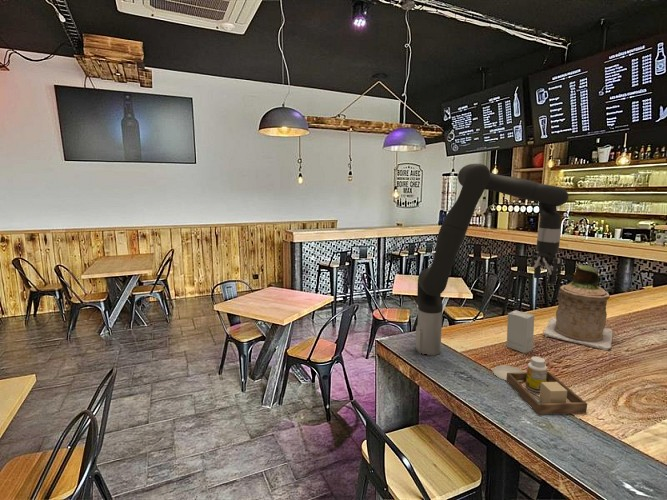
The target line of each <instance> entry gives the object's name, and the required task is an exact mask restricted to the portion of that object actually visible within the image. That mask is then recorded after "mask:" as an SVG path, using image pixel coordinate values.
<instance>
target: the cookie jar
mask: <svg viewBox="0 0 667 500" xmlns="http://www.w3.org/2000/svg"><path fill="white" fill-rule="evenodd" d="M575 266H576V269H575V272H573V280H572V281H570V282H569V283H568V284H564V285H561V286H560V287H559V293H558V298H557V302H558V305H557V309H556V313H555V317H554V316H552V317H550V319H549V320H548V322H547V325H546V327H545V328H544V330H543V331H542V333H543V334H544V337H545V338H546V337H547V338H548V337H549V338H554V339H558V340H562V341H566V342H571V343H575V344H580V345H583V346H587V347H592V348H594V349H595V348H596V349H599V350H603V351H605V352H606V351H608V350H609V349H611V348H612V343H613V342H612V341H613V337H614V336H613V335H614V334H613V330H612V329H611V328H608V327H606V326H607V325H606V324H607V315H608V314H607V302H608V300H609V299H610V298H611V297H610V294H609V292H608V291H606V290H605V289H604V288H603V287H600V286H598V283H599V281H600V280H599V279H600V275H599V272H598V271H597V270H596V268H595V267H594V266H591V265H585V264H584V265H580V264H579V263H576V264H575Z"/></svg>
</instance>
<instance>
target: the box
mask: <svg viewBox="0 0 667 500" xmlns="http://www.w3.org/2000/svg"><path fill="white" fill-rule="evenodd" d="M538 398H539V399H538V400H539V402H540V403H567V390H566V389H565V388H564V387H562V386H561V385H560V384H559V383H558V382H548V381H546V382H541V388H540V392H539V397H538Z"/></svg>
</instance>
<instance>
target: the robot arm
mask: <svg viewBox="0 0 667 500" xmlns="http://www.w3.org/2000/svg"><path fill="white" fill-rule="evenodd" d="M457 181H458V183H459V184H460V186H461V190H460V192H459V195H458V197H457V199H456V201H455V203H453V205H452V206H451V208H450V209H449V210H448V213H447V214H446V215H445V217H444V219H443V221H442V223H441V226H440V228H439V231H438V234H437V236H436V245H435V253H434V258H433V260H432V263H431V265H430V268H429V267H427V268H424V269H423V270H421V272H419V274H418V278H417V294H416V295H417V296H416V297H417V305H418V308H417V309H418V310H417V311H418V312H417V313H418V314H417V325H415V345H414V347H415V349H416V351H417V353H418V354H419V355H424V354H427V355H426V356H437V355H440V353H441V350H442V349H441V348H442V329H443V311H444V310H443V308H444V305H443V301H442V297H441V296H442V295H441V294H442V293H444V292H445V289H446V288H447V285H448V281H449V278H450V274H451V272H452V271H451V270H452V267H453V264H454V263H455V259H456V257H457V255H458V253H459V250H460V247H461V245H462V243H463V240H464V239H465V236H466V234H467V231H468V229H469V226H470V223H471V222H472V218H473V216H474V214H475V210H476V207H477V205H478V203H479V202H480V199H481V197H482V195H483V193H484V191H485V190H487V191H491V192H496V193H500V194H504V195H507V196H512V197H514V198H519V199H523V200H526V201H531V202H532V201H533V202H538V209H539V216H540V217H539V228H538V232H537V240H536V248H535V251H533V252H532V253H531V254H532V255H531V259H530V266H531V267H533V269H534V270H533V278H535V279H540V278H541V272H542V267H543V266H544V267H545V269H546V270H547V271H548V280H547V283H548V284H549V285H555V283H556V277H557V275H561V274H562V266H563V265H562V264H563V263H562V262H563V259H562V257H557V256H556V254H558V253H559V250H560V243H561V226H562V214H561V213H560V212H558V208H557V207H560V206H563V205H565V204H566V203H567V201H568V200H569V193H568V191H567V190H566V189H565V188H564V187H561V186H556V185H552V184H545V183H541V182H536V181H533V180H530V179H525V178H520V177H516V176H507V175H502V174H501V175H500V174H497V173H493V172H491V171H490V169H489V167H488V166H487V165H486V164H483V163H470V164H466V165H464V166H463V167H462V168H460V169H459V171H458V173H457ZM421 353H422V354H421ZM436 354H437V355H436Z"/></svg>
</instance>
